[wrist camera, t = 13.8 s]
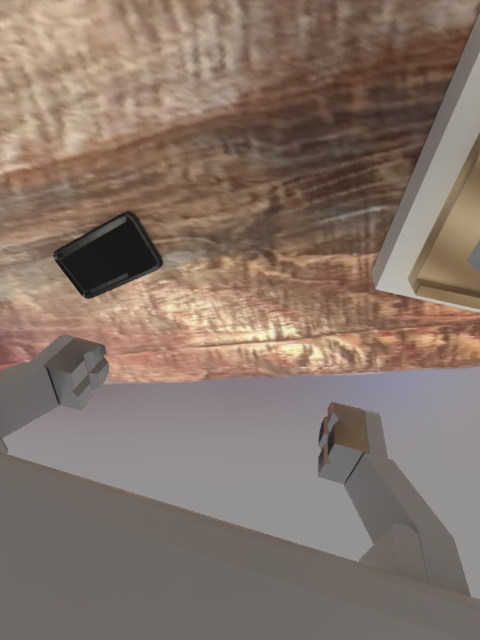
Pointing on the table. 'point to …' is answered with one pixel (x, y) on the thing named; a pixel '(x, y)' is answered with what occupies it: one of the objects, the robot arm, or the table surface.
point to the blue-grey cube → (475, 257)
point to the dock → (433, 175)
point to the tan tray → (453, 243)
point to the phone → (109, 256)
